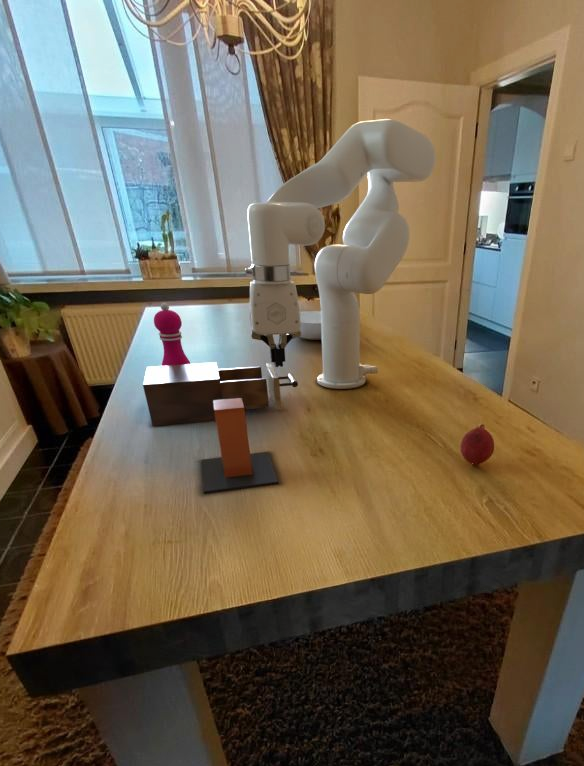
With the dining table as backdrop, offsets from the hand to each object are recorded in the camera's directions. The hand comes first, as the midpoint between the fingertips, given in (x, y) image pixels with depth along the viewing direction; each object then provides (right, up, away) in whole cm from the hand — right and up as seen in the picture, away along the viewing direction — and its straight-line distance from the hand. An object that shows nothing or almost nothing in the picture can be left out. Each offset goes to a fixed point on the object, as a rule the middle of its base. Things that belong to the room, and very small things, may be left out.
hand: (278, 365), depth 110 cm
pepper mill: (-27, -2, +13) cm, 30 cm away
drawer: (-5, -8, +3) cm, 10 cm away
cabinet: (-20, -11, 0) cm, 22 cm away
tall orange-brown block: (-3, -26, -24) cm, 35 cm away
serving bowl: (+2, +27, +60) cm, 66 cm away
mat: (-3, -26, -24) cm, 35 cm away
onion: (+39, -25, -21) cm, 51 cm away
